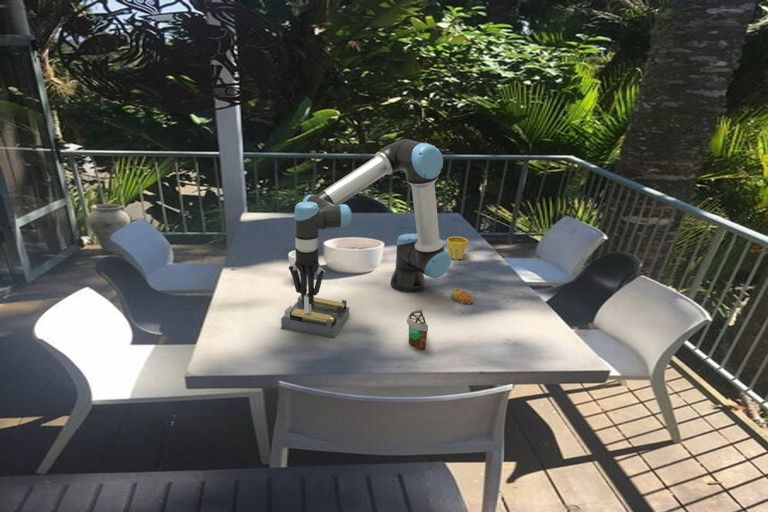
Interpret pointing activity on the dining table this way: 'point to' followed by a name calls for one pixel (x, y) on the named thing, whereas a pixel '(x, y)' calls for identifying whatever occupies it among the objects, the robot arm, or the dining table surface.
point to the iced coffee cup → (417, 329)
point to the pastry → (461, 296)
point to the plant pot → (457, 247)
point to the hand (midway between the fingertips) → (307, 311)
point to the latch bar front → (312, 315)
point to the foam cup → (293, 261)
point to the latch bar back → (328, 302)
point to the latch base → (315, 325)
